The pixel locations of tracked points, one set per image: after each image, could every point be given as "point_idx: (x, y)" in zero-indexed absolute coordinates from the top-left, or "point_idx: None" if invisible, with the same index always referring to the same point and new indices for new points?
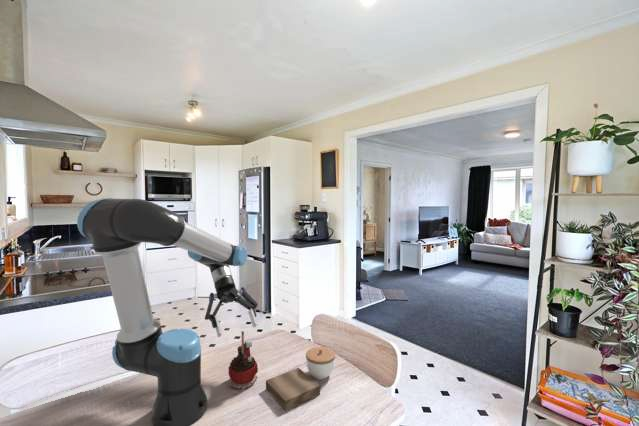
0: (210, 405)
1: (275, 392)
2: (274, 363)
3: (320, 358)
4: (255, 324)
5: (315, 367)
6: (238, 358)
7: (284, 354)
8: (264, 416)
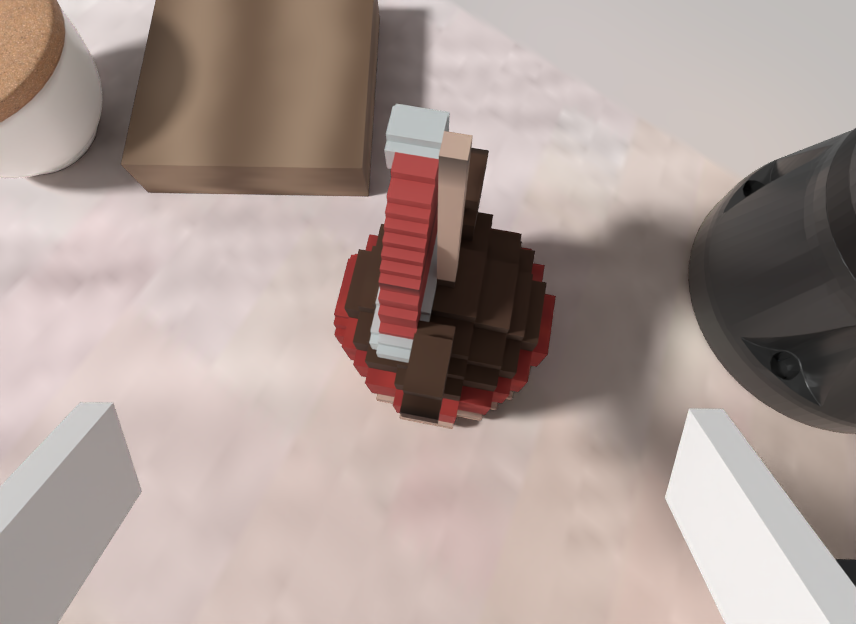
0: (673, 249)
1: (370, 73)
2: (164, 405)
3: None
4: (113, 410)
5: (73, 25)
6: (483, 293)
7: None
8: (474, 41)
